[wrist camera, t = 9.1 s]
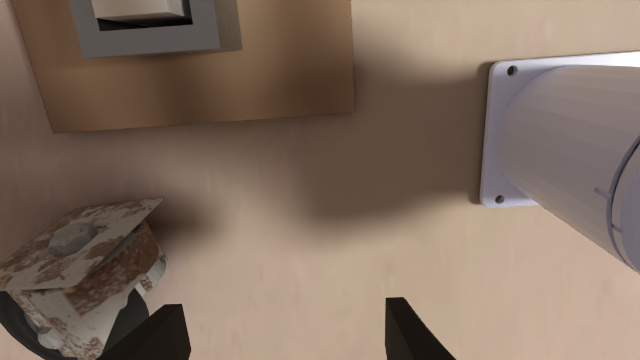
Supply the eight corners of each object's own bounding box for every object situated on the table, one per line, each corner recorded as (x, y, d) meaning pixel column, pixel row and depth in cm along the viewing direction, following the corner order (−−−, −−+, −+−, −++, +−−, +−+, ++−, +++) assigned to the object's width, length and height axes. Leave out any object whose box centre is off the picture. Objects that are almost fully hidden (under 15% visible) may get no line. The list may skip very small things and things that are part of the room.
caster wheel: (96, 316, 27) (13, 208, 23) (226, 313, 24) (161, 187, 20) (17, 407, 22) (-113, 287, 17) (175, 419, 19) (66, 276, 14)
